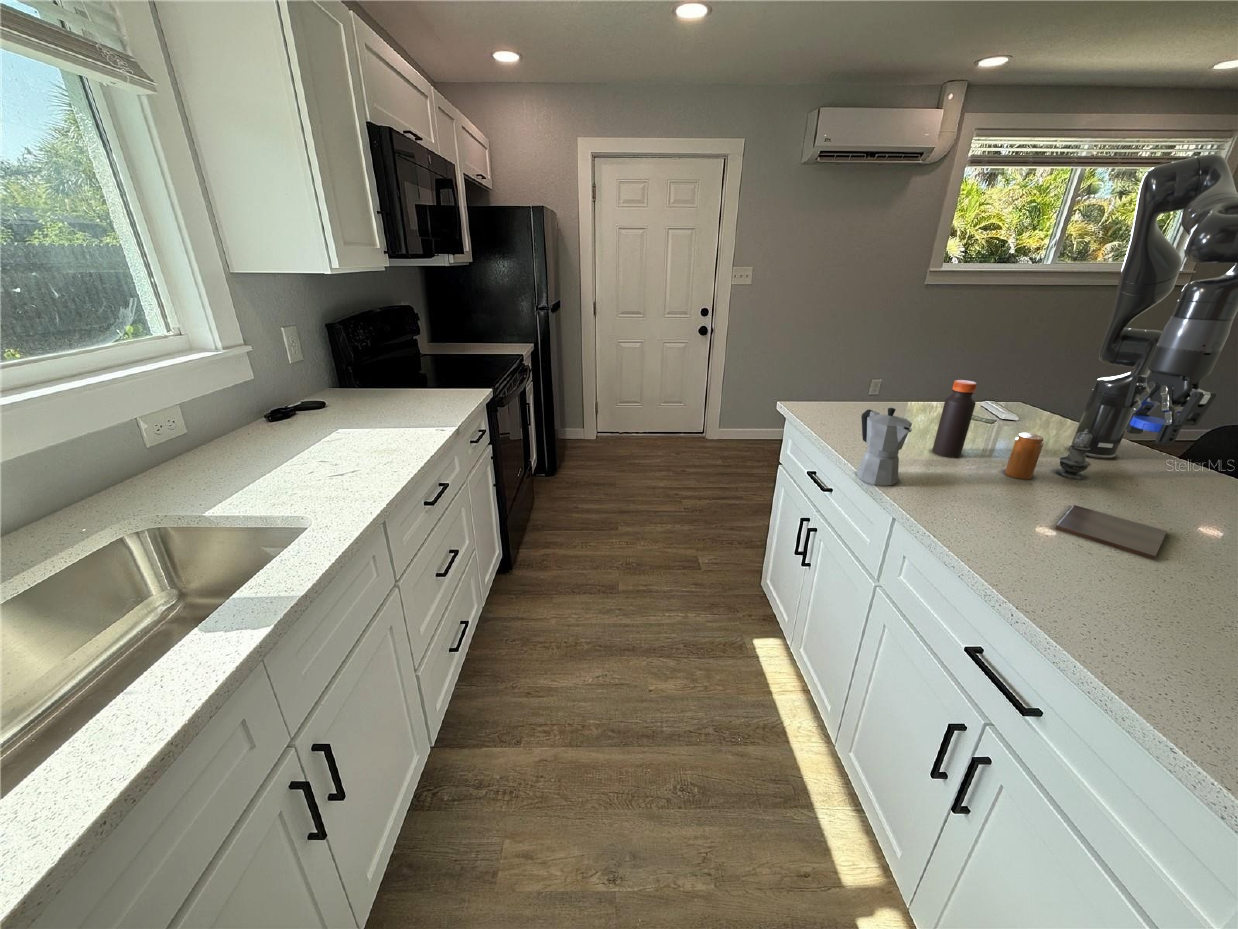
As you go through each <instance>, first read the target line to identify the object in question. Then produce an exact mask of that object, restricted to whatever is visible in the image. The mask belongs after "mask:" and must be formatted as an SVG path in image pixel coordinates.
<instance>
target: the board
mask: <svg viewBox="0 0 1238 929" xmlns="http://www.w3.org/2000/svg"><path fill="white" fill-rule="evenodd" d="M1054 529H1055V530H1057V531H1061V532H1064V533H1066V534H1070V535H1073V536H1077V537H1080V538H1084V539H1086V540H1089V541H1093V542H1095V543H1099V544H1102V545H1105V546H1109V547H1111V548H1115V549H1119V550H1122V551H1124V552H1127V553H1131V554H1134V555H1137V556H1140V557H1143V558H1147V559H1150V560H1155V558H1156V556H1157V555H1158V552H1159V549H1160V547H1161V545H1162V543H1163V541H1164V539H1165V537H1166V535H1167V530H1166V529H1161V528H1157V527H1155V526H1150V525H1148V524H1144V523H1140V522H1138V521H1134V520H1130V519H1126V518H1123V517H1119V516H1116V515H1111V514H1108V513H1104V512H1101V511H1097V510H1093V509H1091V508H1087V507H1083V506H1079V505H1077V504H1074V505H1073V506H1072V507H1071V508H1070V509H1069V510H1068V511H1067V512H1066V514H1065V515H1064V516H1063V517H1062V519H1061V520H1059V521H1058V523H1057V524H1056V526H1055V528H1054Z"/></svg>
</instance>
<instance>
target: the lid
mask: <svg viewBox="0 0 1238 929" xmlns="http://www.w3.org/2000/svg"><path fill="white" fill-rule="evenodd" d="M1129 424H1130V425H1131V426H1133V427H1136V428H1139V429H1143V431H1148V432H1152V433H1159V431H1160V429H1161V427H1162V424H1165V418H1161V417H1157V416H1140V415H1138V416H1133V419H1131V421H1130V423H1129Z"/></svg>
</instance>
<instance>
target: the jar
mask: <svg viewBox="0 0 1238 929" xmlns="http://www.w3.org/2000/svg"><path fill="white" fill-rule="evenodd" d="M1017 436H1018V437H1015V439H1014V442H1013V446H1012V448H1011V451H1010V454H1009V458H1008V460H1007V464H1006V467H1005V470H1004V473H1005V475H1007V476H1009V477H1011V478H1014V479H1019V480H1031V479H1032V478H1033V475H1034V472H1035V470H1036V466H1037V464H1038V462H1039V458H1040V456H1041V452H1042V450H1043V447H1044V445H1045V443H1044V437H1043V436H1041V435H1038V434H1035V433H1030V432H1029V433H1028V432H1021V433H1019V434H1018V435H1017Z"/></svg>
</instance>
